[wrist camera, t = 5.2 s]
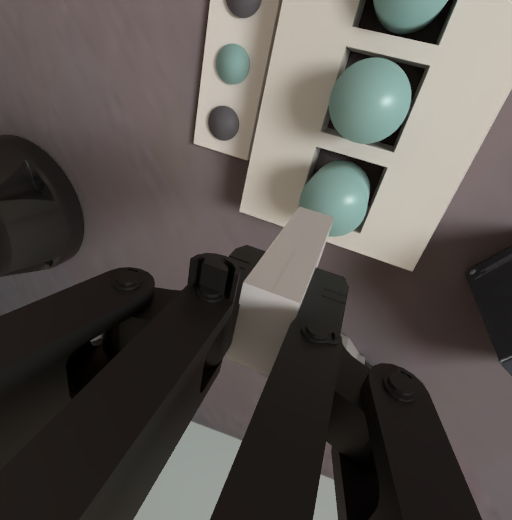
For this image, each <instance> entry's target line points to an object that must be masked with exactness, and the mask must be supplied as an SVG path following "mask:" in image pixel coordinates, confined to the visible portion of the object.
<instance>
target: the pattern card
mask: <svg viewBox="0 0 512 520" xmlns="http://www.w3.org/2000/svg"><path fill="white" fill-rule="evenodd" d="M281 2H282V0H210V7H209V15H208V24H207V32H206V41H205V49H204V58H203V67H202V75H201V84H200V92H199V101H198V109H197V118H196V126H195V135H194V144H196V145H200V146H203V147H206V148H209V149H212V150H215V151H219V152H222V153H225V154H228V155H231V156H234V157H238V158H241V159H244V160H249V159H250V154H251V149H252V144H253V139H254V135H255V130H256V125H257V120H258V115H259V110H260V105H261V100H262V95H263V90H264V86H265V81H266V76H267V71H268V66H269V61H270V56H271V51H272V46H273V41H274V37H275V32H276V27H277V22H278V17H279V12H280V7H281Z"/></svg>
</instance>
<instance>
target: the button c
mask: <svg viewBox="0 0 512 520" xmlns="http://www.w3.org/2000/svg"><path fill="white" fill-rule="evenodd" d="M447 1H448V0H373V3H374V9H375V13H376V16H377V19H378V21H379V22H380V24H381V25H382V26H383V27H384V28H385V29H387V30H388V31H390V32H392V33H395V34H411V33H414V32H417V31H419V30H421V29H423V28H424V27H426V26H427V25H429V24H430V23H431V22H432V21H433V20H434V19H435V18H436V17H437V16H438V14H439V13H440V12H441V10H442V9H443V7H444V6H445V4H446V3H447Z"/></svg>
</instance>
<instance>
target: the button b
mask: <svg viewBox="0 0 512 520" xmlns="http://www.w3.org/2000/svg"><path fill="white" fill-rule="evenodd" d="M410 103H411V87H410V83H409V80H408V78H407V76H406V74H405V72H404V71H403V70H402V69H401V68H400V67H399V66H398V65H397V64H396V63H394V62H392V61H390V60H388V59H384V58H367V59H363V60H360V61H358V62H356V63H354V64H353V65H351V66H350V67H348V68H347V69H346V70H345V71H344V72H343V73H342V74H341V75H340V76H339V78H338V79H337V81H336V82H335V84H334V86H333V89H332V91H331V95H330V99H329V114H330V118H331V121H332V123H333V125H334V127H335V129H336V130H337V131H338V133H339V134H340V135H341V136H343V137H344V138H346V139H347V140H349V141H352V142H355V143H360V144H370V143H375V142H378V141H381V140H383V139H385V138H386V137H388V136H390V135H391V134H392V133H394V132H395V131H396V130H397V129H398V128H399V126H400V125H401V124H402V122H403V121H404V119H405V117H406V115H407V113H408V110H409V108H410Z"/></svg>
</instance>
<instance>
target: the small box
mask: <svg viewBox="0 0 512 520" xmlns="http://www.w3.org/2000/svg"><path fill="white" fill-rule="evenodd" d="M465 276H466V278H467V281H468V283H469V286H470V288H471V291H472V293H473V295H474V298H475V301H476V303H477V306H478V308H479V311H480V313H481V316H482V318H483V321H484V323H485V326H486V328H487V331H488V333H489V336H490V339H491V341H492V343H493V346H494V348H495V351H496V353H497V356H498V359H499V362H500V364H501V365H502V366H503V367H504V368H505V369H506V370H507V371H508V372H509V373H510V375H511V376H512V246H511V247H509V248H507V249H505V250H503V251H502V252H500V253H497V254H496V255H494V256H492V257H491V258H489V259H485V260H484V261H482V262H480V263H479V264H477V265H476V266H474V267H473V268H471V269H469V270H468V271H466V272H465Z"/></svg>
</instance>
